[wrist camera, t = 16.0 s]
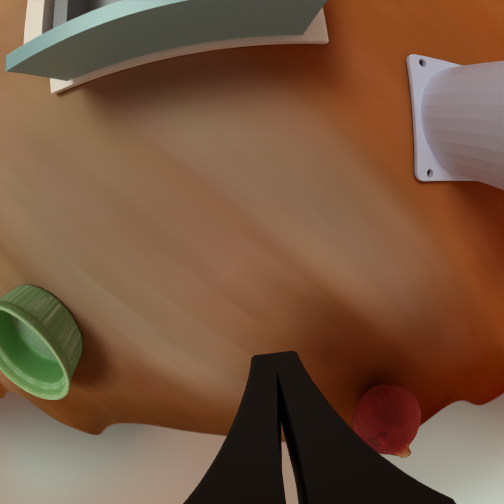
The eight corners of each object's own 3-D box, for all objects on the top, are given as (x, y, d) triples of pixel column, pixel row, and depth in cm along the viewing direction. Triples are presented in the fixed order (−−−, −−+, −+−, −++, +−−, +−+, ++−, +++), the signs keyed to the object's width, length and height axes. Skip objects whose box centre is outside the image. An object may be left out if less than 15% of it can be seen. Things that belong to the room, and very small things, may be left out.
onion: (353, 415, 25) (376, 481, 17) (333, 387, 23) (358, 465, 15) (406, 387, 24) (439, 449, 16) (394, 354, 22) (435, 426, 14)
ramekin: (35, 364, 21) (16, 395, 17) (-8, 282, 18) (-37, 308, 14) (106, 366, 21) (89, 405, 17) (61, 269, 18) (28, 301, 14)
